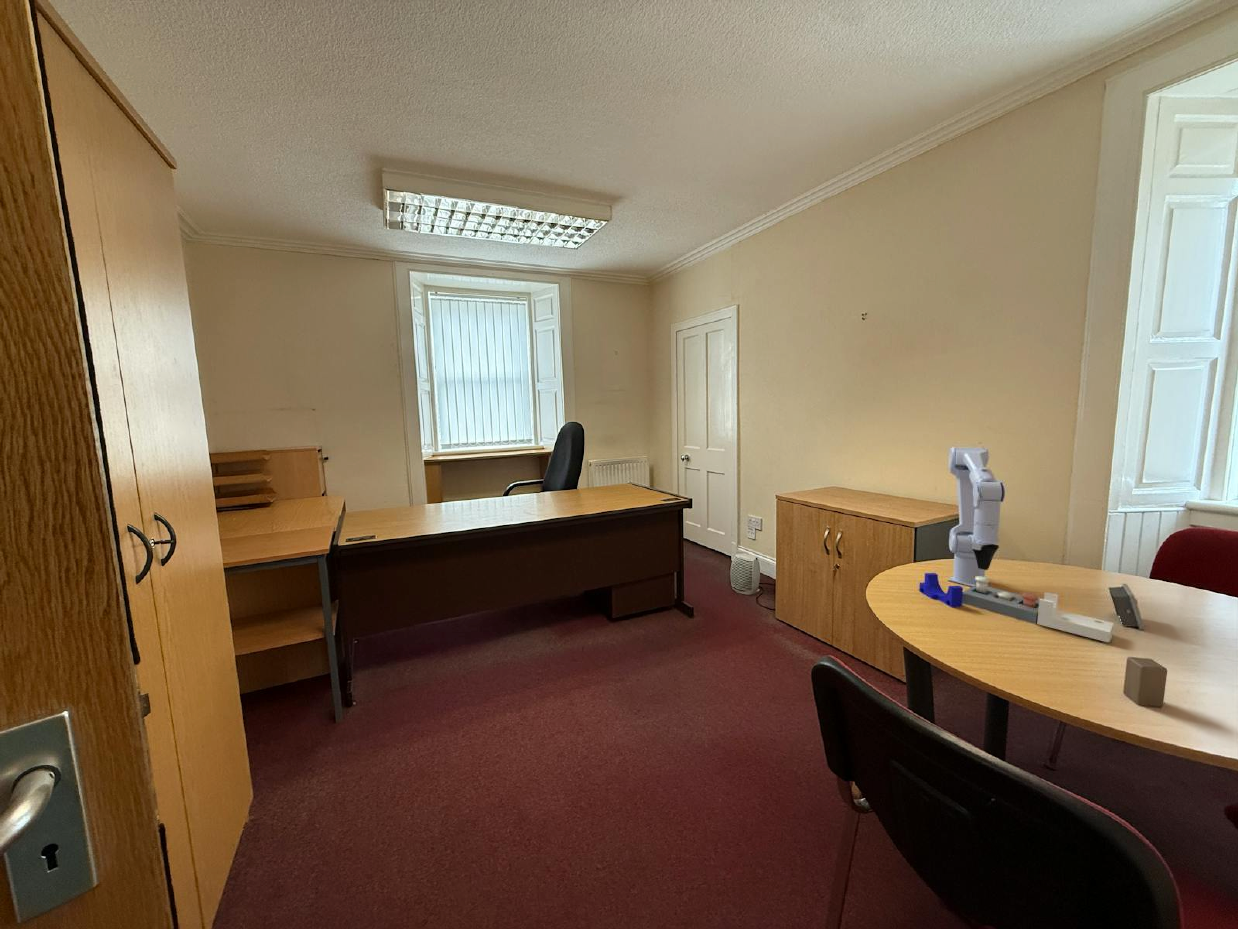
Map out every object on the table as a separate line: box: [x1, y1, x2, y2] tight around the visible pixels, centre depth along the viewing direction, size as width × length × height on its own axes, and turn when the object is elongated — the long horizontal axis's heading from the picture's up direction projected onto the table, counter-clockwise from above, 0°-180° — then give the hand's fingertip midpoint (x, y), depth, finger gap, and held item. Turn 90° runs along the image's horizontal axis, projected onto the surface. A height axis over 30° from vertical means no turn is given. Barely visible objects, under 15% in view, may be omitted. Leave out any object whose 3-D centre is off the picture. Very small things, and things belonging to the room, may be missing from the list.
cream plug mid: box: [997, 591, 1013, 601], centre depth 134 cm, size 3×3×4 cm
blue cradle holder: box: [918, 572, 964, 608], centre depth 141 cm, size 12×4×6 cm, turn 1°
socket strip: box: [962, 585, 1040, 625], centre depth 134 cm, size 11×17×3 cm, turn 33°
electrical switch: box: [1108, 583, 1145, 630], centre depth 124 cm, size 9×5×9 cm, turn 141°
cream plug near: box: [975, 576, 991, 593], centre depth 138 cm, size 3×3×4 cm
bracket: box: [1036, 591, 1115, 643], centre depth 120 cm, size 13×7×8 cm, turn 39°
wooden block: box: [1122, 656, 1168, 708], centre depth 92 cm, size 4×4×8 cm
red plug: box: [1021, 592, 1039, 608], centre depth 129 cm, size 3×3×4 cm
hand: (983, 568), depth 138 cm, fingers closed
